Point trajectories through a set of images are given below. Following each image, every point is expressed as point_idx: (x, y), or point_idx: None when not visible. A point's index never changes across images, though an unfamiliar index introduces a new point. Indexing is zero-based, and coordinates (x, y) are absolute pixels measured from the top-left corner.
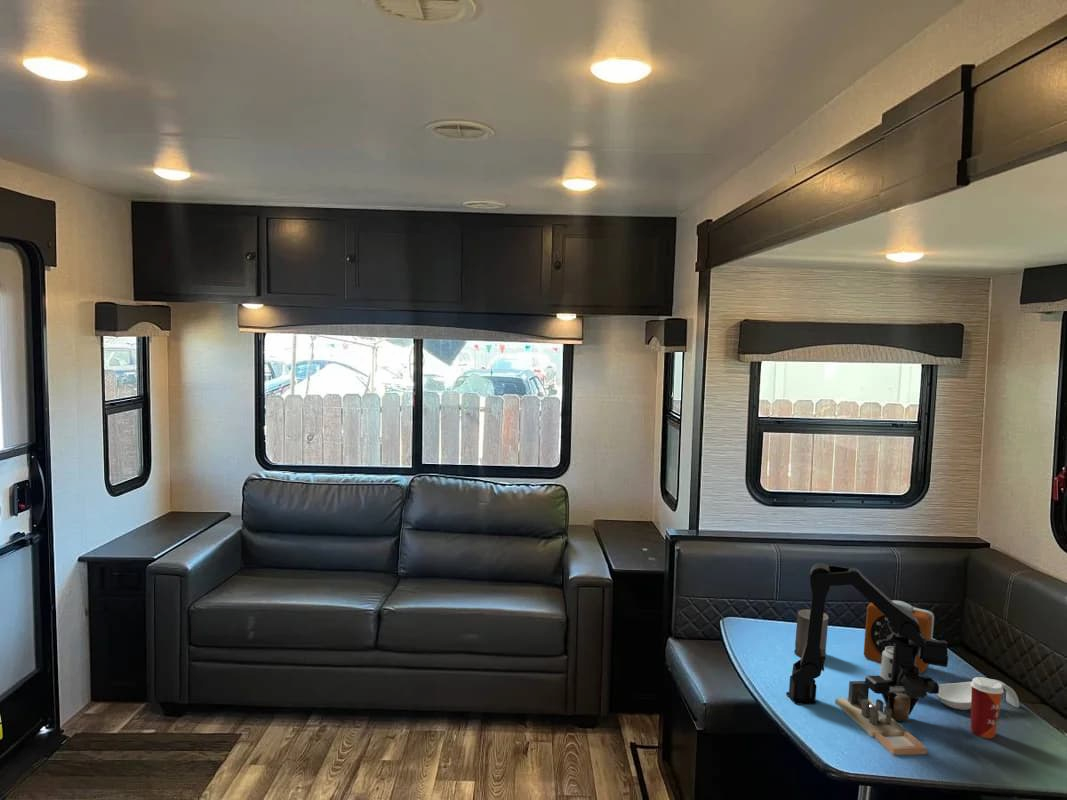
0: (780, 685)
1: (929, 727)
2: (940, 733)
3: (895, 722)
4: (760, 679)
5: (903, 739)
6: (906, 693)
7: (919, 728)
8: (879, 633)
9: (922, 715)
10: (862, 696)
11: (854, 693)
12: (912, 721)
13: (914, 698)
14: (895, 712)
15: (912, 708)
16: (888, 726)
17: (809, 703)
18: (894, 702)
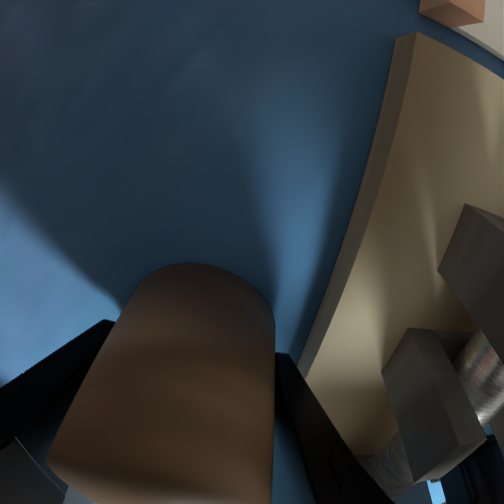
0: (435, 491)
1: (38, 138)
2: (24, 34)
3: (381, 232)
4: (442, 498)
5: (493, 2)
6: (61, 491)
7: (134, 129)
8: None
9: (14, 303)
10: (402, 491)
11: (417, 501)
12: (116, 257)
13: (3, 439)
14: (270, 358)
15: (62, 352)
16: (501, 188)
17: (494, 436)
18: (270, 460)
